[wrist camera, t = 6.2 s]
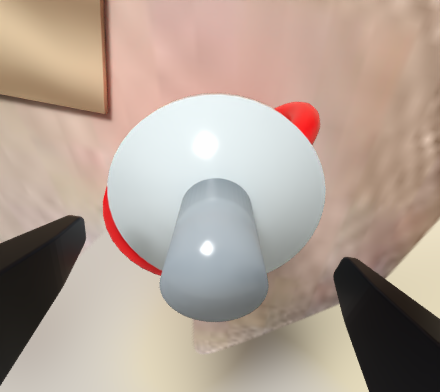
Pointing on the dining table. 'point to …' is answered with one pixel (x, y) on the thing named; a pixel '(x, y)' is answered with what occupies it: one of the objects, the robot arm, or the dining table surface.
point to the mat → (54, 52)
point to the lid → (216, 200)
